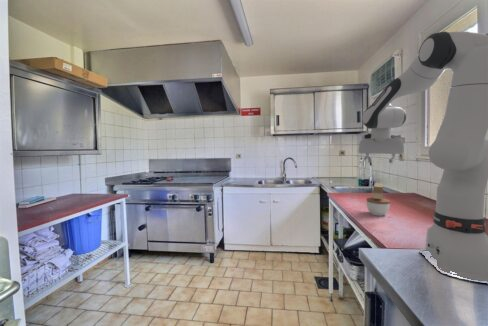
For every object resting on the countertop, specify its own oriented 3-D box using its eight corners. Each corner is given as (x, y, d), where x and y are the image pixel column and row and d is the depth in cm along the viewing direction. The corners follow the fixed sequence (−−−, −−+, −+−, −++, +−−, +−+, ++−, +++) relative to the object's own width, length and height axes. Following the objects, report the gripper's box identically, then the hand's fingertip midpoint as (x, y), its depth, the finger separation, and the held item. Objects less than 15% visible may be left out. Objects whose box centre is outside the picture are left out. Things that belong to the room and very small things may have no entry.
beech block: (382, 199, 120) (383, 187, 120) (373, 198, 122) (373, 186, 122) (382, 194, 130) (383, 183, 130) (374, 194, 132) (374, 183, 132)
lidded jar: (392, 217, 121) (393, 199, 120) (369, 216, 123) (370, 198, 122) (385, 212, 131) (385, 194, 130) (363, 210, 133) (364, 194, 133)
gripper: (404, 135, 122) (403, 162, 123) (359, 136, 131) (358, 161, 132) (406, 134, 116) (404, 163, 117) (358, 135, 126) (358, 162, 127)
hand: (379, 162), depth 125 cm, fingers open, 8 cm apart
